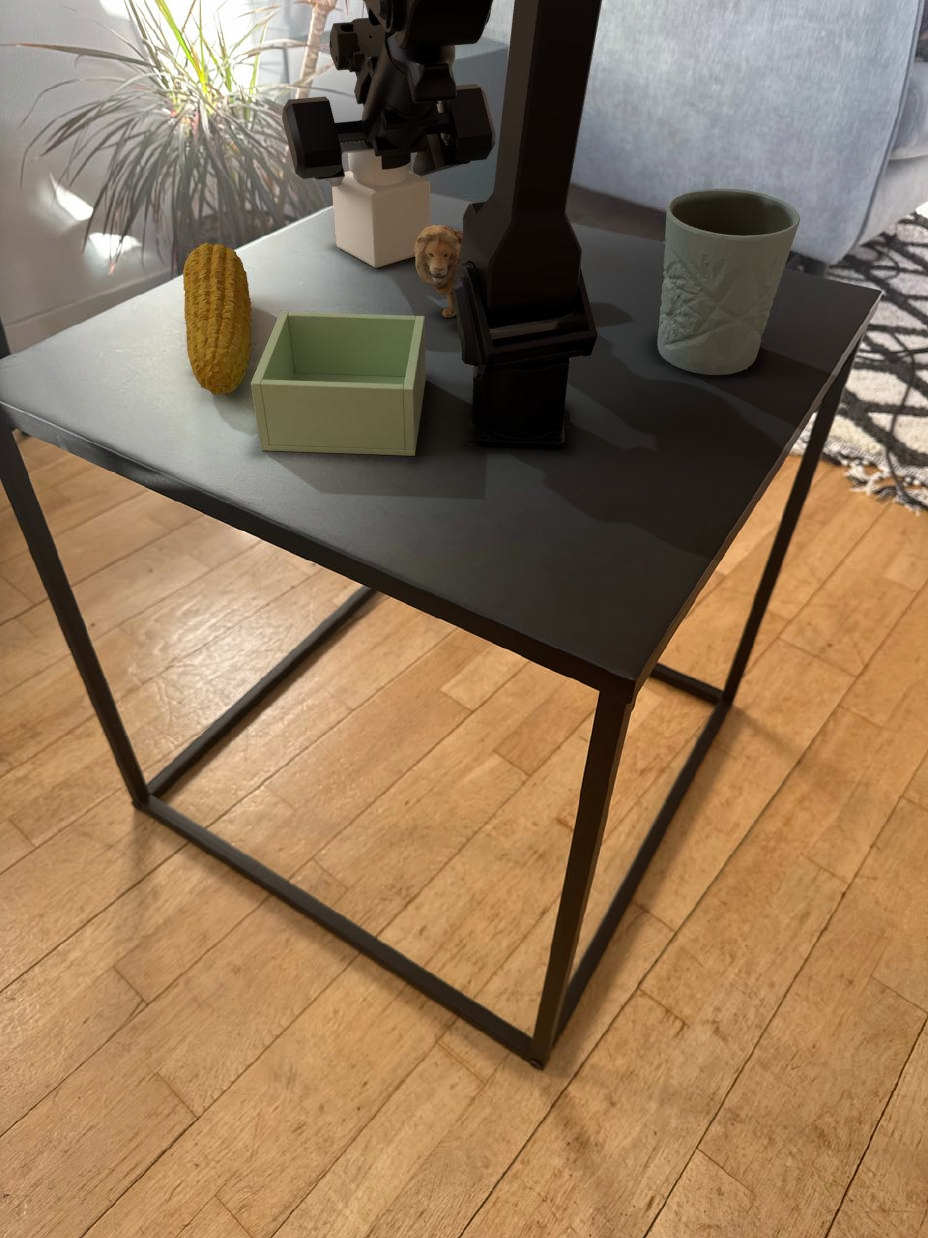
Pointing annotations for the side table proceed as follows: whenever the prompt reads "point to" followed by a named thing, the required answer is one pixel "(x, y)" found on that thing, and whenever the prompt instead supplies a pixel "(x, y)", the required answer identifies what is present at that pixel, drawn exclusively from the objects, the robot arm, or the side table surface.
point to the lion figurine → (439, 260)
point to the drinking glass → (721, 276)
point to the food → (217, 317)
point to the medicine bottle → (380, 208)
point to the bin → (341, 384)
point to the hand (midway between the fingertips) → (375, 176)
